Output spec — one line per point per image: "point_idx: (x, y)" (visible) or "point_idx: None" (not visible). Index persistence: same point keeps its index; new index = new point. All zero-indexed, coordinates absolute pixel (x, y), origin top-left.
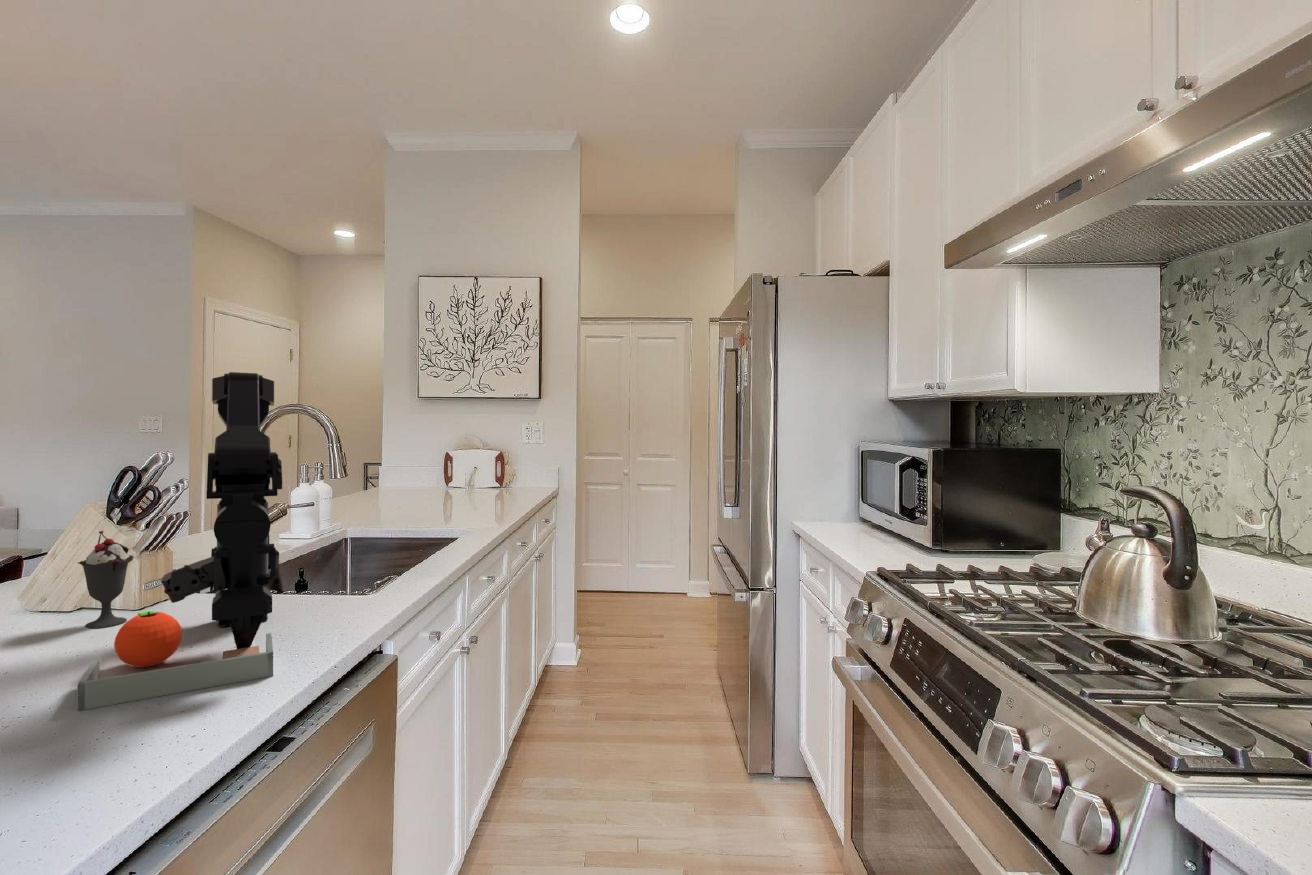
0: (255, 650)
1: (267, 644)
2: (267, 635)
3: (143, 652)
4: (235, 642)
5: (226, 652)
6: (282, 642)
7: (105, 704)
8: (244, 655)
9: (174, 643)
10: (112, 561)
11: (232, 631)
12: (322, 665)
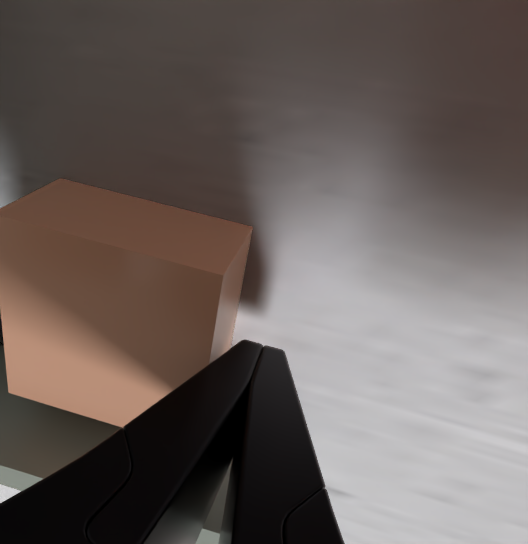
0: (109, 408)
1: (20, 472)
2: (211, 536)
3: None
4: (190, 378)
5: (181, 285)
6: (447, 537)
7: None
8: (49, 341)
9: None
10: None
11: (112, 437)
12: (6, 494)
